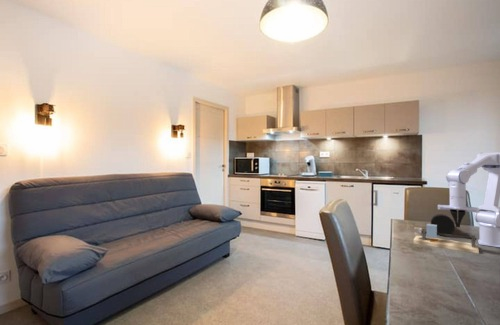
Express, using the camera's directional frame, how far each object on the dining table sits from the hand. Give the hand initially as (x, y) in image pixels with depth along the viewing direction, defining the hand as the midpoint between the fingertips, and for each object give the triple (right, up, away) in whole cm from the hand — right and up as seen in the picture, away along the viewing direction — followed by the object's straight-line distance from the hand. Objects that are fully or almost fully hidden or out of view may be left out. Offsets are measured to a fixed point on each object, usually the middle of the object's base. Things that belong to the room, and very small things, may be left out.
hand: (457, 226), depth 116 cm
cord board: (-1, -10, +6) cm, 12 cm away
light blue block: (-5, -7, +9) cm, 13 cm away
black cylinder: (+18, -10, +34) cm, 40 cm away
